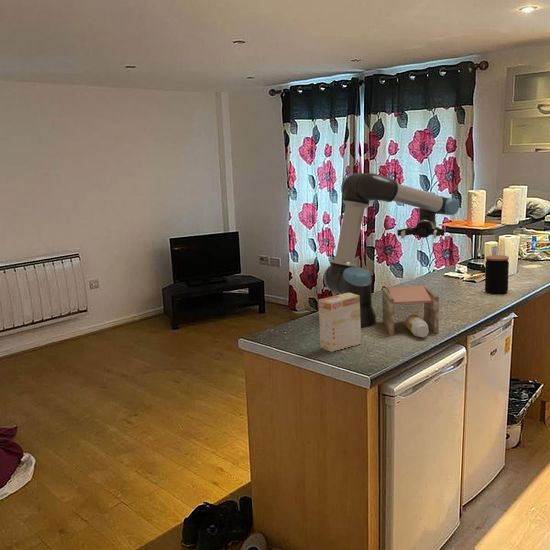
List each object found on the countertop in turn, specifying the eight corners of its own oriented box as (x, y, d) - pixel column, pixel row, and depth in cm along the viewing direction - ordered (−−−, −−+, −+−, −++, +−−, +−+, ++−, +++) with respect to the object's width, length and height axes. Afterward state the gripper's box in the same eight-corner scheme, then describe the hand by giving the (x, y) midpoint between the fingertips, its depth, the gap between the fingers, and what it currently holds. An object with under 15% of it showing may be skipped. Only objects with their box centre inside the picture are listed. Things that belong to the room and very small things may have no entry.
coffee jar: (512, 292, 274) (513, 256, 271) (499, 296, 269) (500, 259, 265) (493, 288, 283) (494, 254, 279) (480, 292, 277) (481, 257, 274)
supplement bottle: (411, 332, 226) (421, 343, 214) (401, 321, 225) (410, 331, 212) (424, 321, 225) (434, 331, 213) (413, 310, 224) (423, 319, 212)
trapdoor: (393, 304, 221) (393, 302, 220) (387, 289, 235) (387, 287, 235) (431, 302, 220) (431, 300, 220) (423, 287, 234) (423, 285, 234)
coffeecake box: (350, 340, 218) (348, 292, 214) (362, 344, 212) (360, 295, 208) (319, 348, 210) (317, 299, 206) (331, 353, 204) (329, 302, 200)
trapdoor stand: (390, 335, 220) (389, 299, 217) (382, 321, 239) (382, 287, 236) (438, 333, 219) (438, 296, 216) (427, 319, 238) (427, 285, 235)
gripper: (452, 236, 251) (448, 244, 232) (397, 236, 261) (388, 244, 242) (452, 220, 250) (448, 226, 231) (397, 220, 259) (388, 226, 240)
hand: (417, 235), depth 236 cm, fingers open, 13 cm apart
